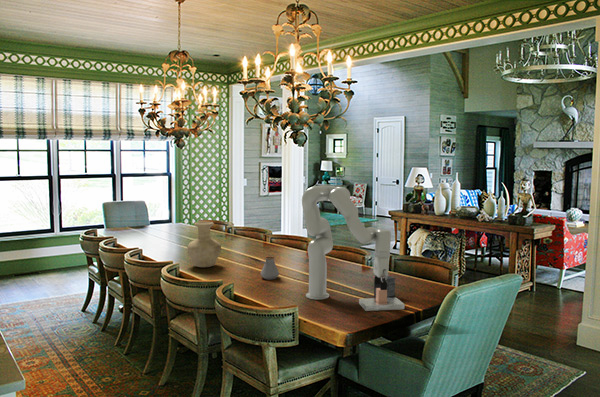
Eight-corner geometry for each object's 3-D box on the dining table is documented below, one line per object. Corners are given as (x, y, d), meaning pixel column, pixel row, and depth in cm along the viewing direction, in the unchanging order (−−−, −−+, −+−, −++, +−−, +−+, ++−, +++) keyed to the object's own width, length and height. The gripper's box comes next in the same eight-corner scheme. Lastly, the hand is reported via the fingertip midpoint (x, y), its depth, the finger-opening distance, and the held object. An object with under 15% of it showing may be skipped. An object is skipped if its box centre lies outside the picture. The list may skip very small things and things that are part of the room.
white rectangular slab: (359, 303, 254) (359, 298, 253) (396, 302, 257) (396, 297, 257) (365, 310, 242) (365, 305, 242) (404, 309, 245) (404, 304, 245)
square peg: (375, 305, 251) (376, 288, 250) (384, 304, 252) (384, 287, 251) (378, 307, 247) (378, 290, 246) (386, 307, 248) (387, 290, 247)
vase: (221, 269, 324) (220, 225, 321) (186, 270, 321) (185, 225, 318) (221, 262, 346) (220, 220, 343) (188, 263, 343) (188, 220, 340)
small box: (386, 293, 272) (386, 275, 271) (395, 296, 267) (395, 277, 266) (373, 297, 265) (373, 278, 264) (382, 300, 260) (382, 280, 259)
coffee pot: (271, 274, 312) (271, 251, 311) (282, 278, 303) (283, 254, 302) (243, 280, 298) (243, 256, 297) (254, 284, 290) (254, 259, 288)
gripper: (369, 250, 255) (368, 282, 257) (380, 257, 238) (378, 292, 240) (383, 250, 256) (382, 282, 258) (395, 257, 239) (393, 292, 241)
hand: (380, 287), depth 249 cm, fingers open, 9 cm apart
